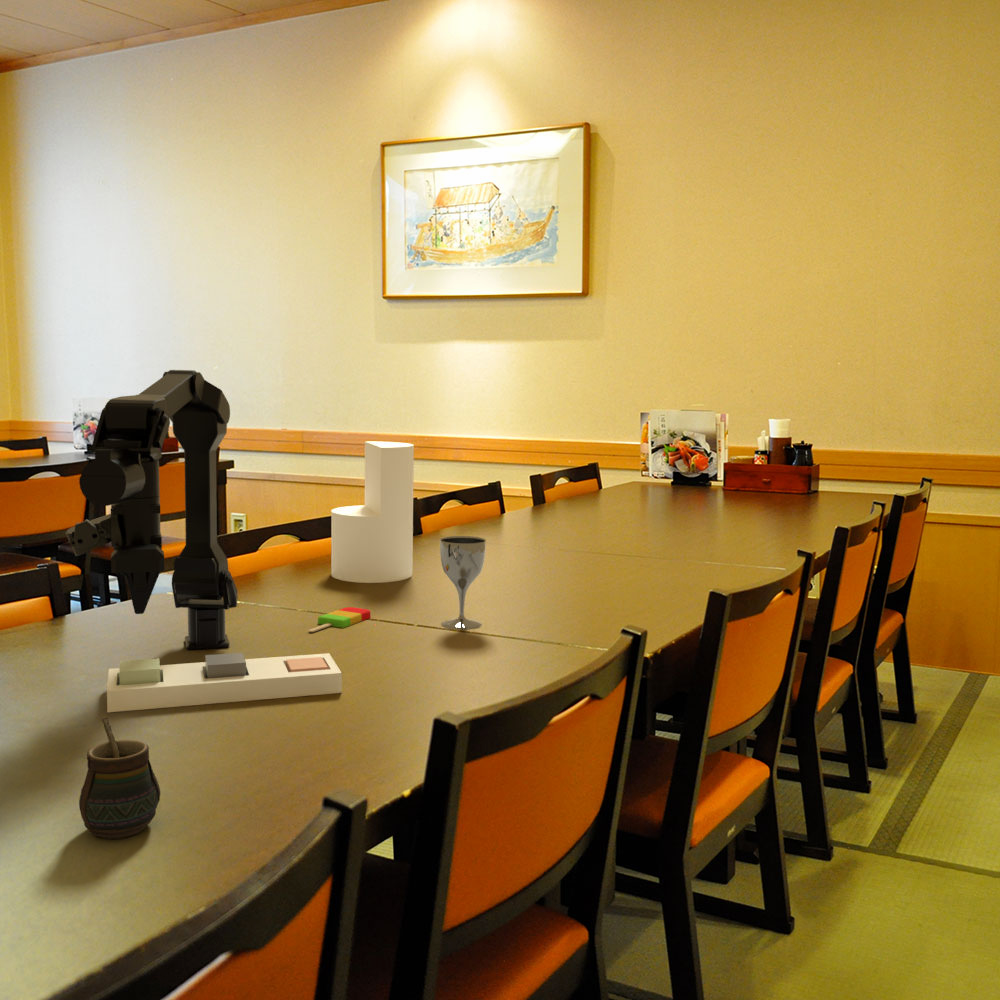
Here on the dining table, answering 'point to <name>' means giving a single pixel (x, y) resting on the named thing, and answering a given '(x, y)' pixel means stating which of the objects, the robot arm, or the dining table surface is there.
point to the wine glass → (462, 570)
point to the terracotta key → (306, 664)
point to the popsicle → (342, 618)
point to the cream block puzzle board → (223, 684)
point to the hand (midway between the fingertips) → (139, 613)
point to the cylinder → (377, 520)
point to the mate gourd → (118, 788)
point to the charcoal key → (225, 665)
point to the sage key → (139, 671)
